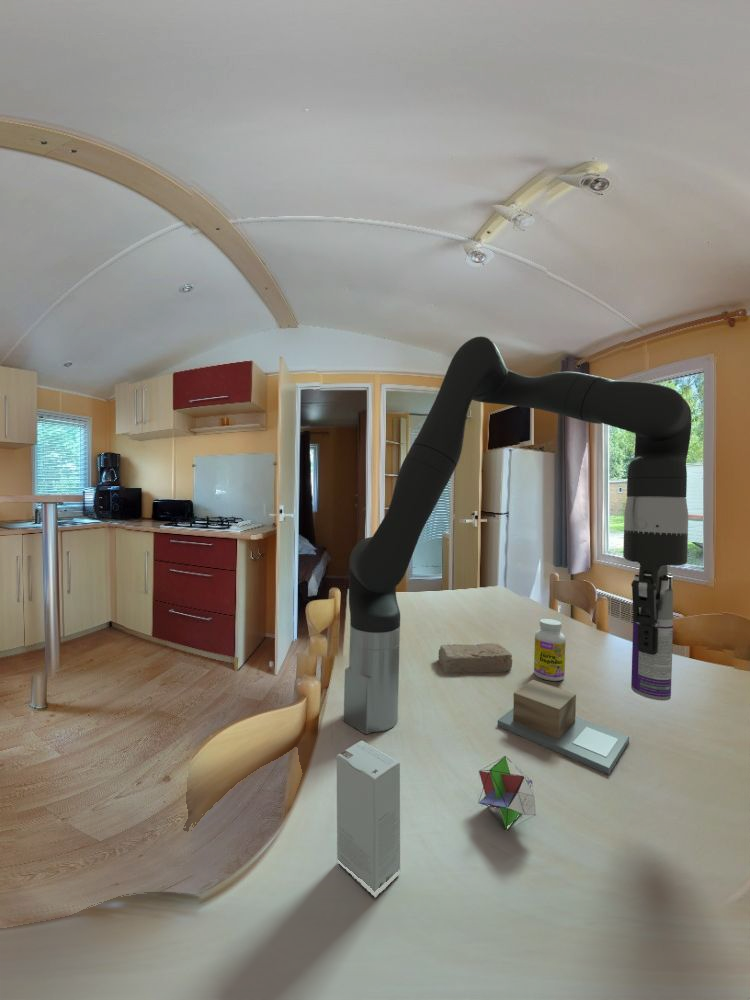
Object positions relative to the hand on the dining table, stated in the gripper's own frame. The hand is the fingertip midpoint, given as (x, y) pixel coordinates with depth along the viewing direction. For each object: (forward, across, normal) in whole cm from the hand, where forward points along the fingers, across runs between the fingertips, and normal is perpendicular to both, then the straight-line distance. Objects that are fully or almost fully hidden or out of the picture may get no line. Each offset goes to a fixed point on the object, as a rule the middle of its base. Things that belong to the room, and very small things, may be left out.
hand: (651, 647), depth 57 cm
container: (+7, 0, 0) cm, 7 cm away
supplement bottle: (+20, +28, +25) cm, 43 cm away
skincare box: (+21, -38, +19) cm, 47 cm away
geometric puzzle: (+20, -20, +12) cm, 31 cm away
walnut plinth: (+20, +5, +17) cm, 27 cm away
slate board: (+20, +5, +14) cm, 25 cm away
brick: (+21, +20, +40) cm, 49 cm away
